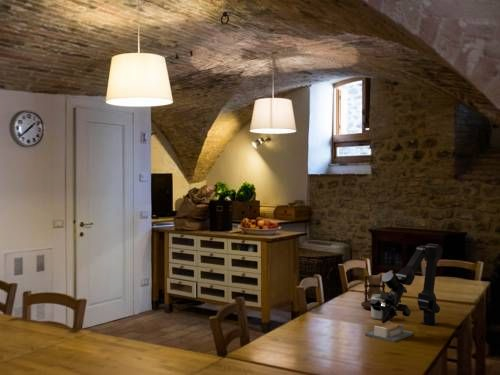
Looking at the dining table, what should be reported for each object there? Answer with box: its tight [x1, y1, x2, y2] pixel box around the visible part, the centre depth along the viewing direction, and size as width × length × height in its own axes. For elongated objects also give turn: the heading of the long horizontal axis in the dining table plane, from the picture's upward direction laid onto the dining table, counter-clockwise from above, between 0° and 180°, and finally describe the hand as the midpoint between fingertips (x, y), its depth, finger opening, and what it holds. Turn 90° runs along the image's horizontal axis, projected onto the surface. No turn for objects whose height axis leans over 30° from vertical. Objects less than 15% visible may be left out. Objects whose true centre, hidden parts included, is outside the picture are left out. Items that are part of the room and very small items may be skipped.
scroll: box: [361, 271, 386, 311], centre depth 302 cm, size 15×15×20 cm
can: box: [370, 294, 385, 321], centre depth 281 cm, size 8×8×12 cm
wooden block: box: [381, 322, 400, 332], centre depth 250 cm, size 1×5×11 cm
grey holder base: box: [364, 321, 414, 343], centre depth 250 cm, size 17×15×5 cm
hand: (382, 322), depth 246 cm, fingers closed
